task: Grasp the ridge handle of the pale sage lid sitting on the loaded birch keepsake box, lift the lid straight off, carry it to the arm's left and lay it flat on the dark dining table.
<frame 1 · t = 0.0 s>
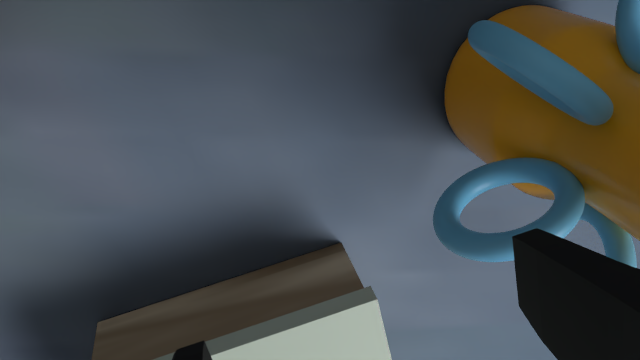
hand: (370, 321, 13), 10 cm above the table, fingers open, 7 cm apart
yellow post with rings: (510, 80, 23), on the table
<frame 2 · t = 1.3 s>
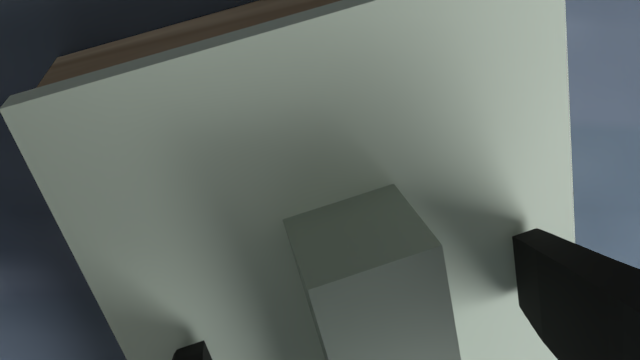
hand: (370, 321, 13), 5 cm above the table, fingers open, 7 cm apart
lid: (356, 292, 14), point 3 cm above the table, touching crate
crate: (323, 223, 18), on the table
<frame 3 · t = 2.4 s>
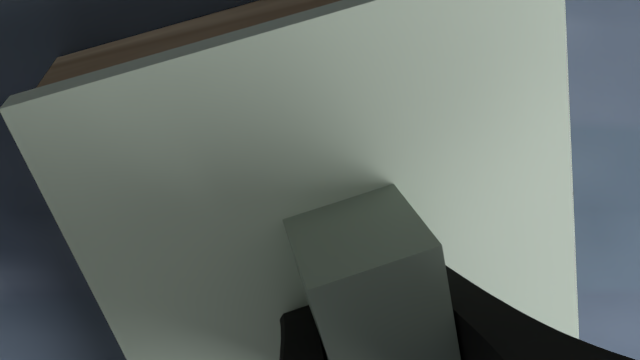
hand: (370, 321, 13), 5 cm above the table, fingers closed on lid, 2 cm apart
lid: (356, 292, 14), point 3 cm above the table, touching crate, gripper
crate: (323, 223, 18), on the table
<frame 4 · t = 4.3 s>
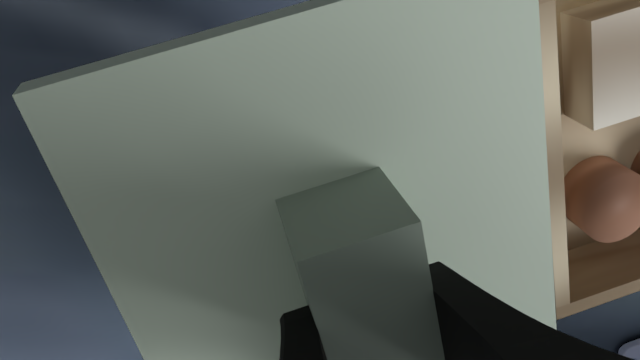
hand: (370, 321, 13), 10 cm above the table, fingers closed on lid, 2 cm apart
lid: (345, 270, 15), point 8 cm above the table, touching gripper
crate: (613, 103, 24), on the table
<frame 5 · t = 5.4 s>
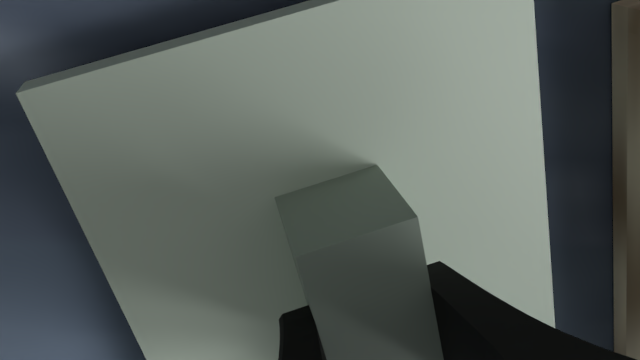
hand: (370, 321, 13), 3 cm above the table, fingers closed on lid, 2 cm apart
lid: (345, 268, 16), point 1 cm above the table, touching gripper
when the fingers open (2 cm above the table, at t = 6.2 s): lid stays where it is, on the table.
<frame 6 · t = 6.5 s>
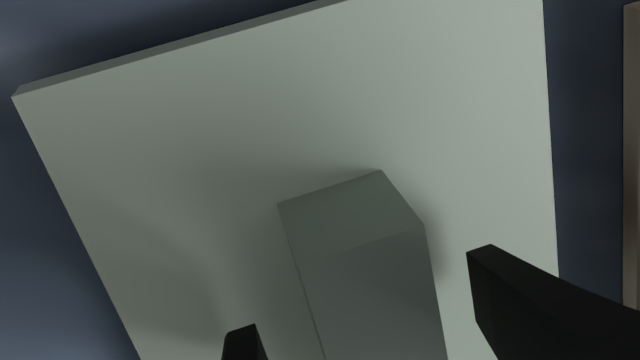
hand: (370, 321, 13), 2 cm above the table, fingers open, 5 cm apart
lid: (348, 275, 15), on the table
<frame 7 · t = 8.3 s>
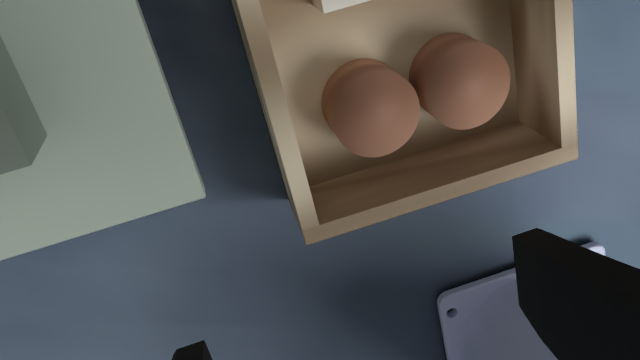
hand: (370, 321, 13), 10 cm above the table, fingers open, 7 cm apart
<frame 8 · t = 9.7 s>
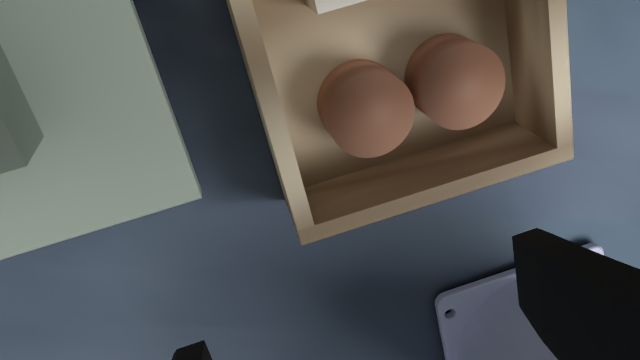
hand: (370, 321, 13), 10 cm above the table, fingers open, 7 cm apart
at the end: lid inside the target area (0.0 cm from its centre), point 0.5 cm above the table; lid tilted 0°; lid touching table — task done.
